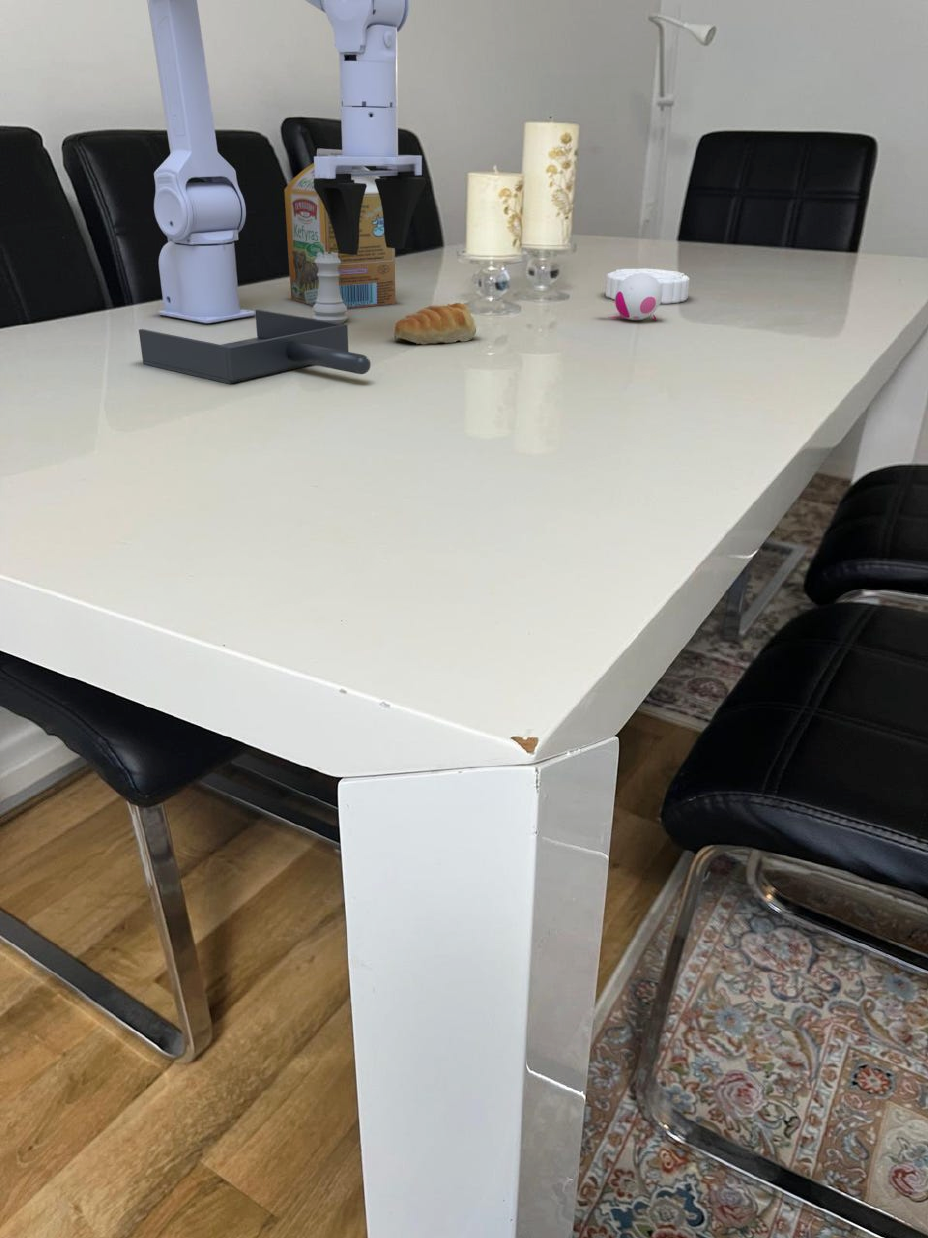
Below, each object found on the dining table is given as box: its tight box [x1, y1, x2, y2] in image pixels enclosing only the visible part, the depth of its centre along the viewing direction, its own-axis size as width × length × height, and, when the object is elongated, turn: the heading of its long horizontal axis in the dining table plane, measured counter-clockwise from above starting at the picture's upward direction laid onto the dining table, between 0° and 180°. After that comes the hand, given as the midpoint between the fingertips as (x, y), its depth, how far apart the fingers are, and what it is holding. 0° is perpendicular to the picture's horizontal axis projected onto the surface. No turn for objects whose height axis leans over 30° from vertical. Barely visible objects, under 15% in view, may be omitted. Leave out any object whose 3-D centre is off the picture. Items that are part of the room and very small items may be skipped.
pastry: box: [393, 302, 477, 346], centre depth 110 cm, size 9×7×4 cm
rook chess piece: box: [311, 252, 349, 324], centre depth 119 cm, size 4×4×8 cm
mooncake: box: [605, 267, 691, 305], centre depth 141 cm, size 12×12×4 cm
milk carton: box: [284, 148, 396, 310], centre depth 129 cm, size 11×11×19 cm
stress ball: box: [609, 273, 662, 322], centre depth 124 cm, size 8×8×7 cm
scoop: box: [138, 309, 372, 385], centre depth 96 cm, size 23×16×3 cm
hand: (372, 250), depth 103 cm, fingers open, 7 cm apart
